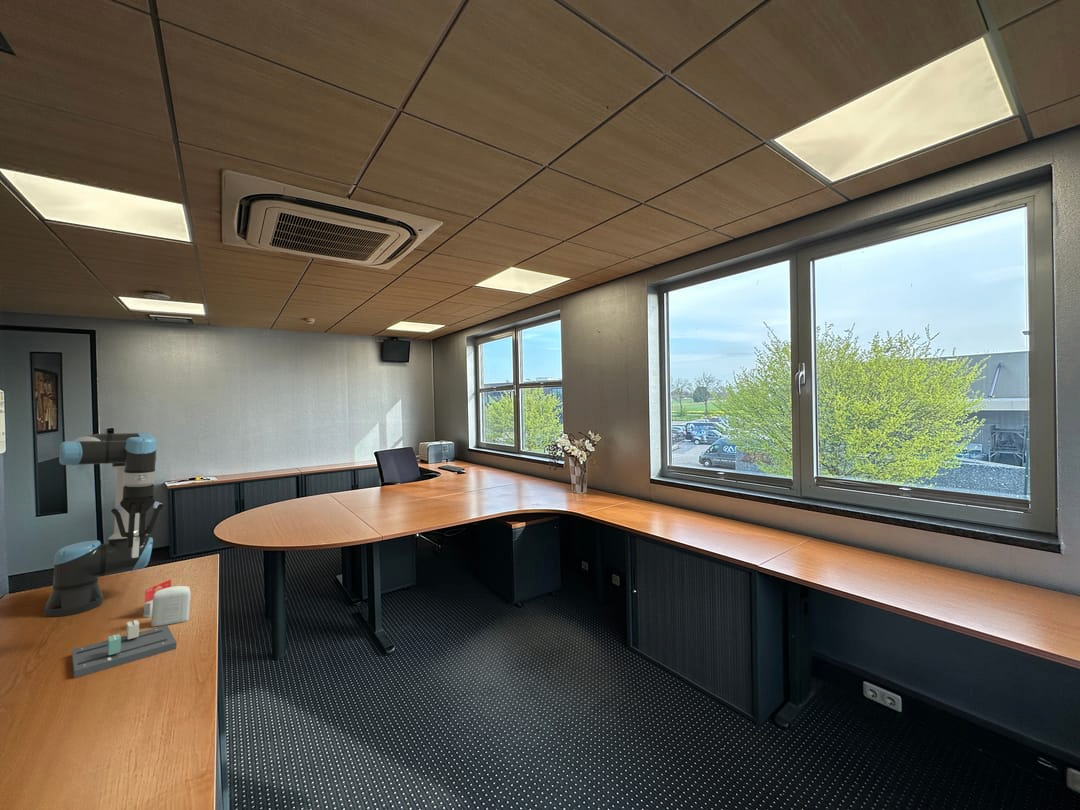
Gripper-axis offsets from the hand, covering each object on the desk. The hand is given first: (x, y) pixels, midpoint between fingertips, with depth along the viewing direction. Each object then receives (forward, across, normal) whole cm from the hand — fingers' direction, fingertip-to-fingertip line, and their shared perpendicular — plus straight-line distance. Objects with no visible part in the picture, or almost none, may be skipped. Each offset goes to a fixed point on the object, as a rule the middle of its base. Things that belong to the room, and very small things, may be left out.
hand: (134, 556), depth 143 cm
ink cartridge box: (+28, +10, +18) cm, 34 cm away
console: (+26, -2, -11) cm, 28 cm away
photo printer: (+27, +11, +4) cm, 29 cm away
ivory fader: (+24, 0, -7) cm, 25 cm away
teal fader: (+24, -5, -15) cm, 28 cm away
